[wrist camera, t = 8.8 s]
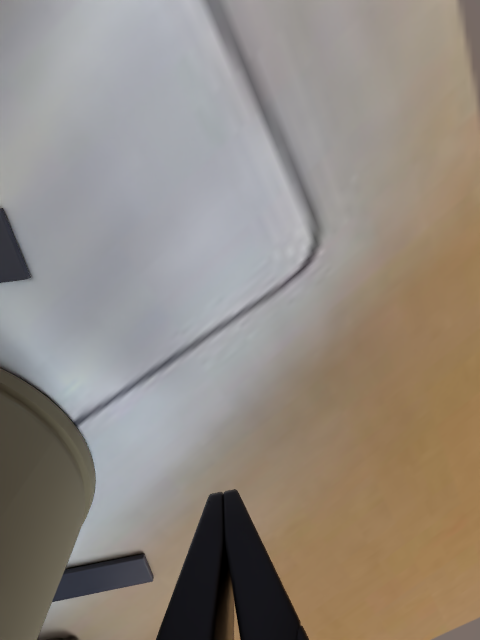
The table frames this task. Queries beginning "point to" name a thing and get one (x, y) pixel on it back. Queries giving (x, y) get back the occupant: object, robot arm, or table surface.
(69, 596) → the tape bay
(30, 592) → the can
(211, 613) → the robot arm
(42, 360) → the table surface
